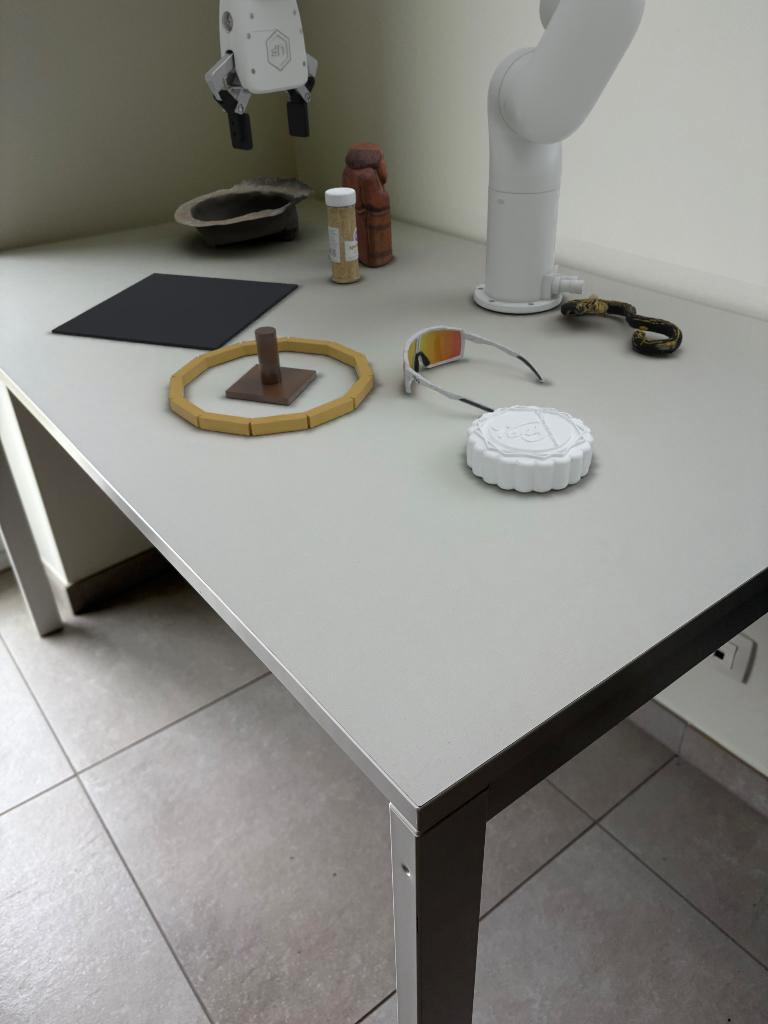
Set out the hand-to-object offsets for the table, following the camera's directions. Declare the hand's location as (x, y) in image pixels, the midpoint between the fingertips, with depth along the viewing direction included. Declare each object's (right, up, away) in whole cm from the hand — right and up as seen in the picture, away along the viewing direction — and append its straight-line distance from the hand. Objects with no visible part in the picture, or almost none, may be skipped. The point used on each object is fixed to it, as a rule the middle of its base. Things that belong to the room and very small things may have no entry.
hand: (272, 142), depth 100 cm
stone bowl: (-11, +4, +47) cm, 48 cm away
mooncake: (+28, -42, -22) cm, 55 cm away
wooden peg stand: (+1, -32, -6) cm, 32 cm away
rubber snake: (+44, -24, +3) cm, 50 cm away
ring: (+1, -32, -6) cm, 32 cm away
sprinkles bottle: (+8, -10, +26) cm, 29 cm away
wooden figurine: (+12, -3, +35) cm, 37 cm away
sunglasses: (+24, -32, -8) cm, 41 cm away
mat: (-16, -16, +17) cm, 29 cm away
